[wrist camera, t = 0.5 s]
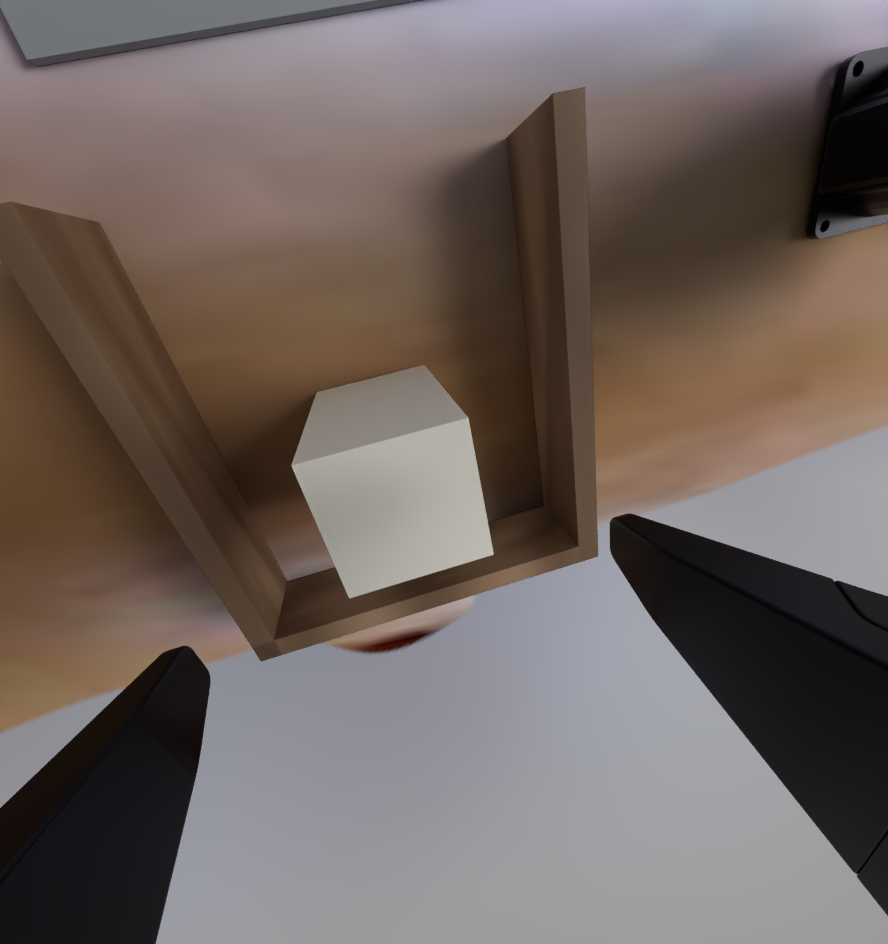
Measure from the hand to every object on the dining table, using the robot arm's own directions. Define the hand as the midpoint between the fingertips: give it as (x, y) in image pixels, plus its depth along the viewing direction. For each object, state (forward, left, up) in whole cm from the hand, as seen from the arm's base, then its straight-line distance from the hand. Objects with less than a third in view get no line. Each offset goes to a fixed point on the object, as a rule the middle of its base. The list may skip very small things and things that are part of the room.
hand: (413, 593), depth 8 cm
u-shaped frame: (0, -1, -12) cm, 12 cm away
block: (0, +1, -12) cm, 12 cm away
